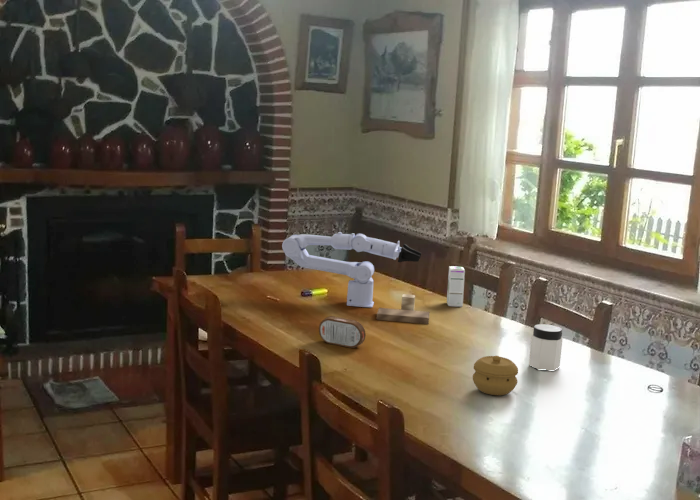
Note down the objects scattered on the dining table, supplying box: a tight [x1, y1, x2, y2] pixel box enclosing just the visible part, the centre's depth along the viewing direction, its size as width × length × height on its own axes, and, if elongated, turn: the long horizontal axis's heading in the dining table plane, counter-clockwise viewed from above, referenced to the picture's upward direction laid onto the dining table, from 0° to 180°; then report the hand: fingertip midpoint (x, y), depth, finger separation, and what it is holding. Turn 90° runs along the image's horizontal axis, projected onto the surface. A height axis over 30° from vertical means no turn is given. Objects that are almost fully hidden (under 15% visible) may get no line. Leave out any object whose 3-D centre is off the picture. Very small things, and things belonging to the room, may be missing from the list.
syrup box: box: [446, 265, 466, 308], centre depth 307 cm, size 6×6×14 cm
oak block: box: [400, 293, 416, 311], centre depth 293 cm, size 4×4×6 cm
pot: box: [472, 355, 519, 396], centre depth 214 cm, size 12×12×10 cm
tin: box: [318, 315, 367, 349], centre depth 248 cm, size 15×3×8 cm, turn 65°
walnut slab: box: [376, 307, 430, 325], centre depth 284 cm, size 18×9×2 cm, turn 83°
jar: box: [528, 323, 564, 370], centre depth 237 cm, size 9×8×12 cm
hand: (420, 257), depth 294 cm, fingers open, 7 cm apart
